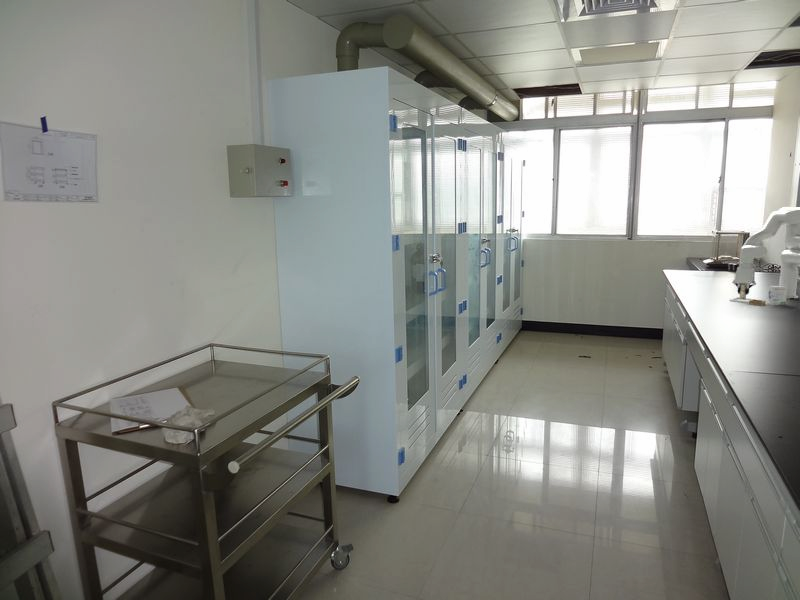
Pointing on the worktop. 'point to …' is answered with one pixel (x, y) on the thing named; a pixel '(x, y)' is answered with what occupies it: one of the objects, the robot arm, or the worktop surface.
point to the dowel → (743, 291)
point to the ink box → (777, 295)
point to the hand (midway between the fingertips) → (743, 293)
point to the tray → (740, 300)
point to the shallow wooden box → (757, 302)
